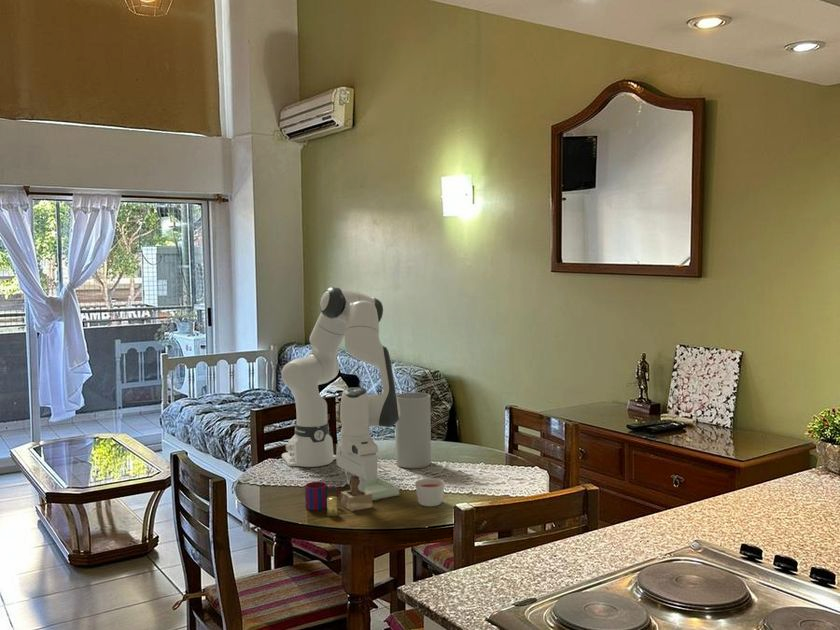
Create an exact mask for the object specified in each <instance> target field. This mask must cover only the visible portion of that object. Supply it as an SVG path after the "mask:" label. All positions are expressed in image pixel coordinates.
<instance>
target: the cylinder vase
mask: <svg viewBox="0 0 840 630" xmlns="http://www.w3.org/2000/svg"><path fill="white" fill-rule="evenodd" d="M396 396H397V399H398V402H399V405H400V417H399V420H398V421H397V422H396V423H395V460H396V461H395V462H396V465H397V466H398V467H400V468H402V469H413V470H414V469H423V468H426V467H428V466H430V465H431V463H432V441H431V440H432V433H431V431H432V428H431V425H432V424H431V394H429V393H426V392H425V393H424V392H418V391H417V392H403V393H398V394H397V393H396Z"/></svg>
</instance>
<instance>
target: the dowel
mask: <svg viewBox="0 0 840 630" xmlns="http://www.w3.org/2000/svg"><path fill="white" fill-rule="evenodd" d="M359 483H360V480H359V477H358V476H356V475H354V474H353V476H351V495H352V496H357V495H362V492H361V491H359V490H358V485H359Z"/></svg>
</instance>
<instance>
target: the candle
mask: <svg viewBox="0 0 840 630" xmlns="http://www.w3.org/2000/svg"><path fill="white" fill-rule="evenodd" d="M414 484H415V490H416V496H417V500H418V501H417V502H418V504H419V505H421V506H423V507H436V506H439V505H441V504H442V501H443V497H444V490H445V484H446V481H444V480H443V479H440V478H433V477H432V478H421V479H418V480H416V481H415V482H414Z"/></svg>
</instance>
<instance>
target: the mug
mask: <svg viewBox="0 0 840 630" xmlns="http://www.w3.org/2000/svg"><path fill="white" fill-rule="evenodd" d="M330 489H334V490H335V492H336V496H335V497H337V500H338V498H339V490H338V487H336V486H335V485H334V486H332V485H331V486H328V483H327V482H325V481H311V482H307V483H306V484H304V501H305V506H304V507H305V509H306V510H308V511H314V510H316V511H322V510H326V509H327V497H329V496H328V493H329V492H328V491H329V490H330ZM325 508H326V509H325Z"/></svg>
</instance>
